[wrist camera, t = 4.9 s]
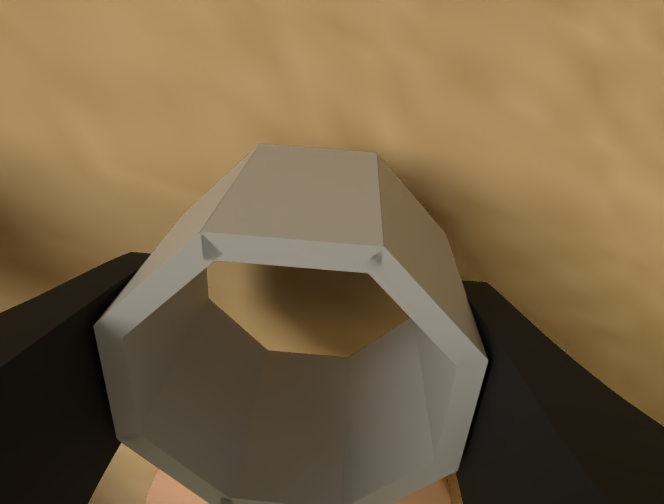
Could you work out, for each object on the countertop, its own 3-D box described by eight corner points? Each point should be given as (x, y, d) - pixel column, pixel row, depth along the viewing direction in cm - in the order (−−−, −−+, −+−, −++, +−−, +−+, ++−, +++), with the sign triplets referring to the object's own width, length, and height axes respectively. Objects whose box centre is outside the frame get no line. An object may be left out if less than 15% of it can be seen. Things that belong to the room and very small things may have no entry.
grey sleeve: (418, 376, 12) (440, 531, 9) (196, 356, 12) (130, 502, 9) (460, 159, 10) (516, 258, 6) (177, 136, 10) (71, 221, 6)
